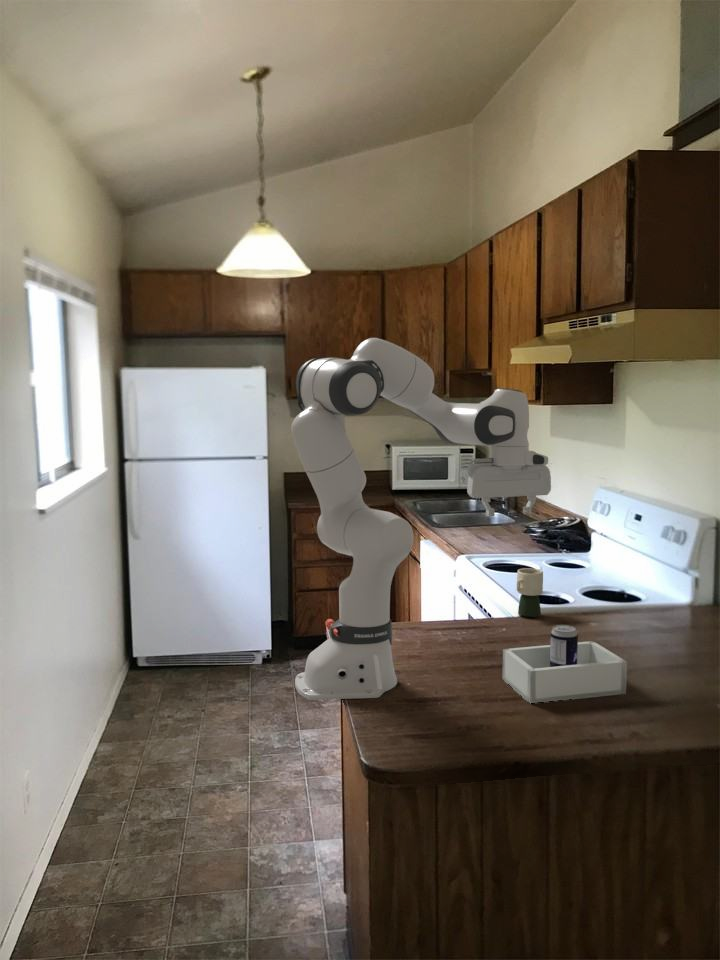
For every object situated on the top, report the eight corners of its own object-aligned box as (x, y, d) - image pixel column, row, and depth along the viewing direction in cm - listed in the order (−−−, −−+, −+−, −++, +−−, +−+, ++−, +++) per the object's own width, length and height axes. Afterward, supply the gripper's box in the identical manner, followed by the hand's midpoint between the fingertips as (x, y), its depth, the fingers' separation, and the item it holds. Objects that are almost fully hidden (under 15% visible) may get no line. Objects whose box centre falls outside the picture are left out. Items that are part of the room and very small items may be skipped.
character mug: (531, 609, 231) (532, 565, 229) (551, 615, 225) (552, 570, 224) (506, 616, 224) (507, 571, 223) (526, 622, 219) (527, 576, 217)
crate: (529, 704, 163) (530, 671, 162) (502, 679, 177) (502, 649, 176) (626, 693, 168) (627, 661, 168) (592, 670, 182) (592, 641, 181)
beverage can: (577, 687, 169) (579, 632, 168) (550, 685, 170) (551, 631, 169) (575, 677, 175) (577, 624, 173) (549, 676, 176) (550, 623, 174)
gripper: (473, 460, 183) (472, 519, 185) (554, 457, 188) (553, 515, 189) (463, 457, 189) (462, 515, 191) (542, 455, 194) (541, 511, 195)
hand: (508, 515), depth 190 cm, fingers open, 8 cm apart
